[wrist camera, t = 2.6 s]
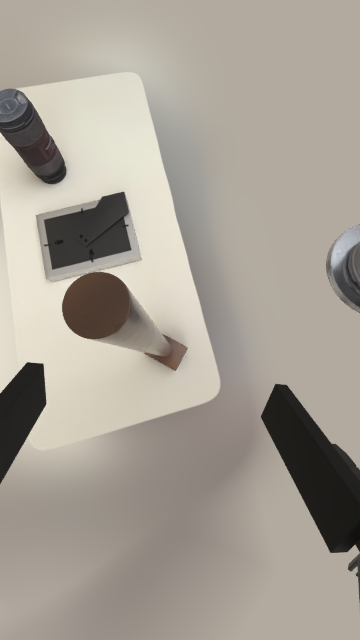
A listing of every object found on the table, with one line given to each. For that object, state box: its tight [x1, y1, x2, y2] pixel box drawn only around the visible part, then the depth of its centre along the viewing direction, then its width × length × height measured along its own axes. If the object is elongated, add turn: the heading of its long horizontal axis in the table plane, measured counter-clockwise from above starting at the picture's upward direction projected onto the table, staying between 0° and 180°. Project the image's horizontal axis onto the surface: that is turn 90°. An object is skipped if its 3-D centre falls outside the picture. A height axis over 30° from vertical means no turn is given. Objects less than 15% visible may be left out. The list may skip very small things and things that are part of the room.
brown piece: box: [62, 272, 187, 371], centre depth 28 cm, size 7×5×40 cm
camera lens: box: [0, 89, 66, 184], centre depth 49 cm, size 8×8×15 cm
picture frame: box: [36, 192, 142, 282], centre depth 51 cm, size 16×3×21 cm
